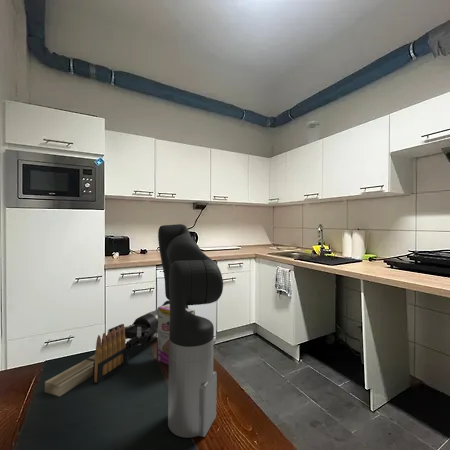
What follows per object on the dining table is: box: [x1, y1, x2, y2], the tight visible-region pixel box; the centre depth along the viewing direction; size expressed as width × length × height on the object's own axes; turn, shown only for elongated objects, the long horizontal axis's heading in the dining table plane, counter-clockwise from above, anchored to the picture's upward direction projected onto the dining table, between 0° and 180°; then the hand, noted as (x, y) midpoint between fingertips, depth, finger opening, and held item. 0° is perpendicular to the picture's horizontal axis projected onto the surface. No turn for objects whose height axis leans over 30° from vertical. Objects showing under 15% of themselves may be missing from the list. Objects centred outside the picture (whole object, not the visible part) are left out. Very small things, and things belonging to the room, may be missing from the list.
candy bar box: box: [156, 304, 196, 367], centre depth 77 cm, size 11×5×16 cm, turn 58°
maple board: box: [44, 354, 95, 397], centre depth 69 cm, size 5×16×2 cm, turn 160°
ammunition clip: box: [92, 323, 128, 384], centre depth 71 cm, size 11×2×12 cm, turn 160°
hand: (114, 343), depth 72 cm, fingers open, 8 cm apart
